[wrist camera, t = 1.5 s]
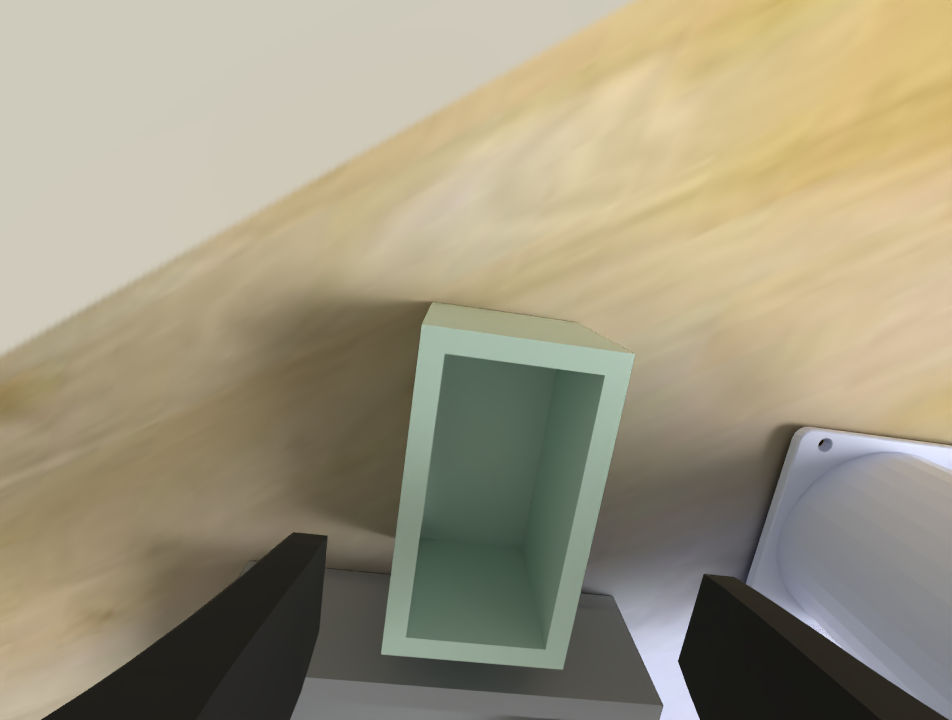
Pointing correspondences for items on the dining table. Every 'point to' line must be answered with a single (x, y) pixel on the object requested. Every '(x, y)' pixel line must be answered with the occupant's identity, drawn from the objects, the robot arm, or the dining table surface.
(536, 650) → the box
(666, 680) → the dining table surface
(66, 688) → the dining table surface
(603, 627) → the tray
